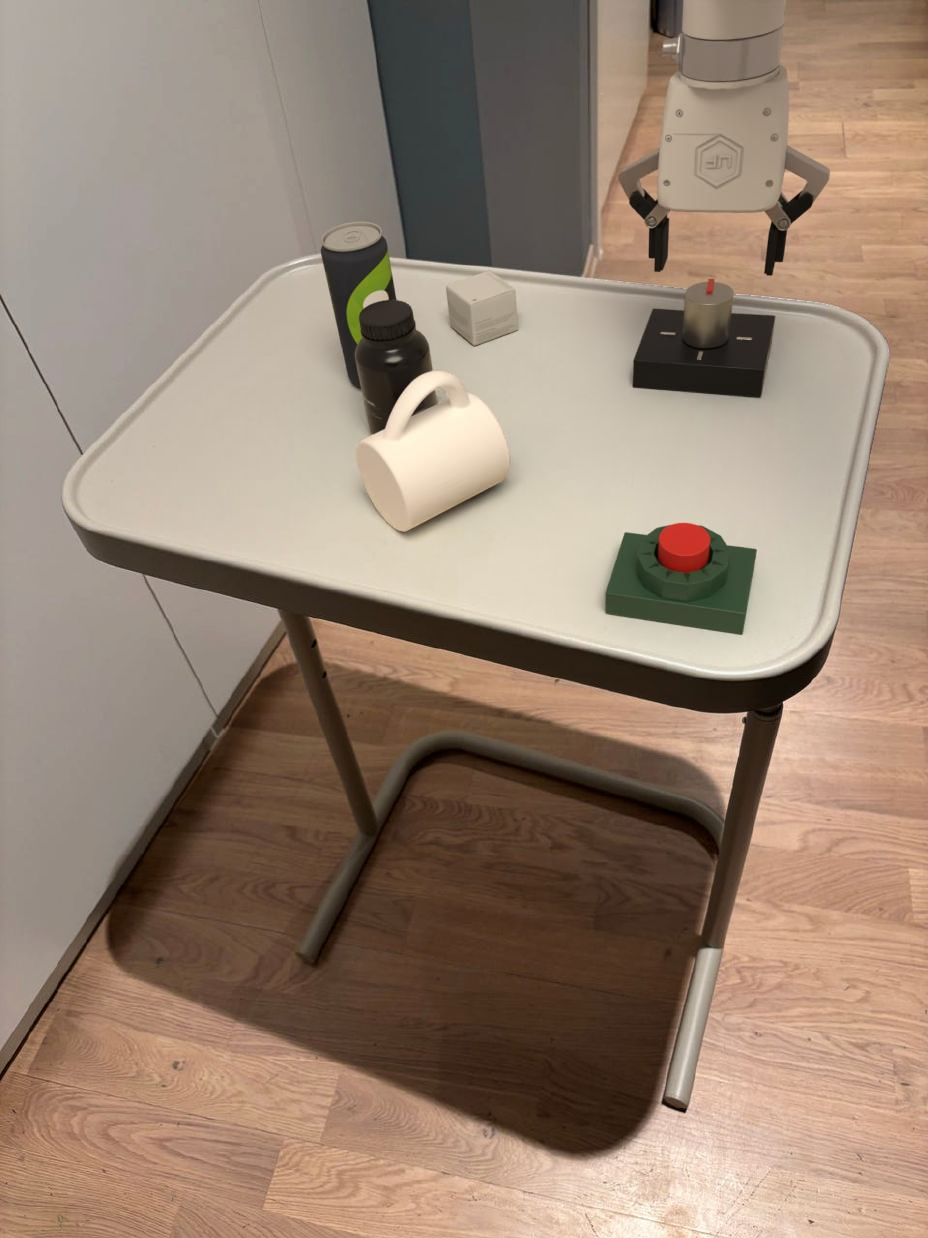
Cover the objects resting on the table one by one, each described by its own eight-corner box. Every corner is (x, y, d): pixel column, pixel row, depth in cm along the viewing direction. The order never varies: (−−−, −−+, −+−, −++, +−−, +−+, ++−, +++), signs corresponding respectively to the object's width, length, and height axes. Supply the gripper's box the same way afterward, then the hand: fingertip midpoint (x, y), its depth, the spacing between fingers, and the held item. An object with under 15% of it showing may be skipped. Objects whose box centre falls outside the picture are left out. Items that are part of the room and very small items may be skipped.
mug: (365, 503, 83) (337, 384, 74) (460, 455, 86) (445, 336, 78) (415, 549, 78) (391, 428, 69) (514, 496, 81) (504, 375, 73)
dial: (727, 349, 88) (732, 301, 85) (679, 347, 89) (682, 300, 86) (730, 325, 91) (735, 278, 88) (684, 324, 92) (687, 277, 89)
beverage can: (350, 365, 100) (319, 224, 89) (408, 357, 99) (384, 216, 89) (348, 397, 95) (316, 253, 85) (409, 389, 95) (384, 244, 84)
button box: (753, 569, 72) (759, 530, 69) (742, 635, 68) (748, 595, 65) (624, 552, 75) (624, 513, 72) (605, 613, 70) (605, 575, 68)
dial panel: (771, 342, 94) (775, 313, 92) (760, 397, 88) (764, 368, 85) (651, 334, 97) (652, 306, 95) (632, 387, 91) (633, 358, 89)
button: (711, 543, 69) (713, 525, 68) (704, 576, 67) (706, 558, 66) (662, 537, 70) (663, 519, 69) (653, 569, 68) (654, 551, 67)
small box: (520, 330, 101) (517, 287, 97) (473, 347, 99) (468, 304, 96) (493, 310, 105) (490, 267, 101) (448, 326, 103) (443, 284, 100)
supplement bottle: (356, 439, 90) (330, 324, 81) (393, 401, 94) (371, 288, 85) (418, 454, 87) (398, 336, 79) (453, 414, 91) (437, 298, 83)
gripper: (609, 72, 73) (611, 282, 85) (846, 65, 68) (812, 290, 80) (629, 44, 78) (627, 246, 90) (851, 35, 73) (818, 251, 85)
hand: (714, 266), depth 85 cm, fingers open, 9 cm apart
